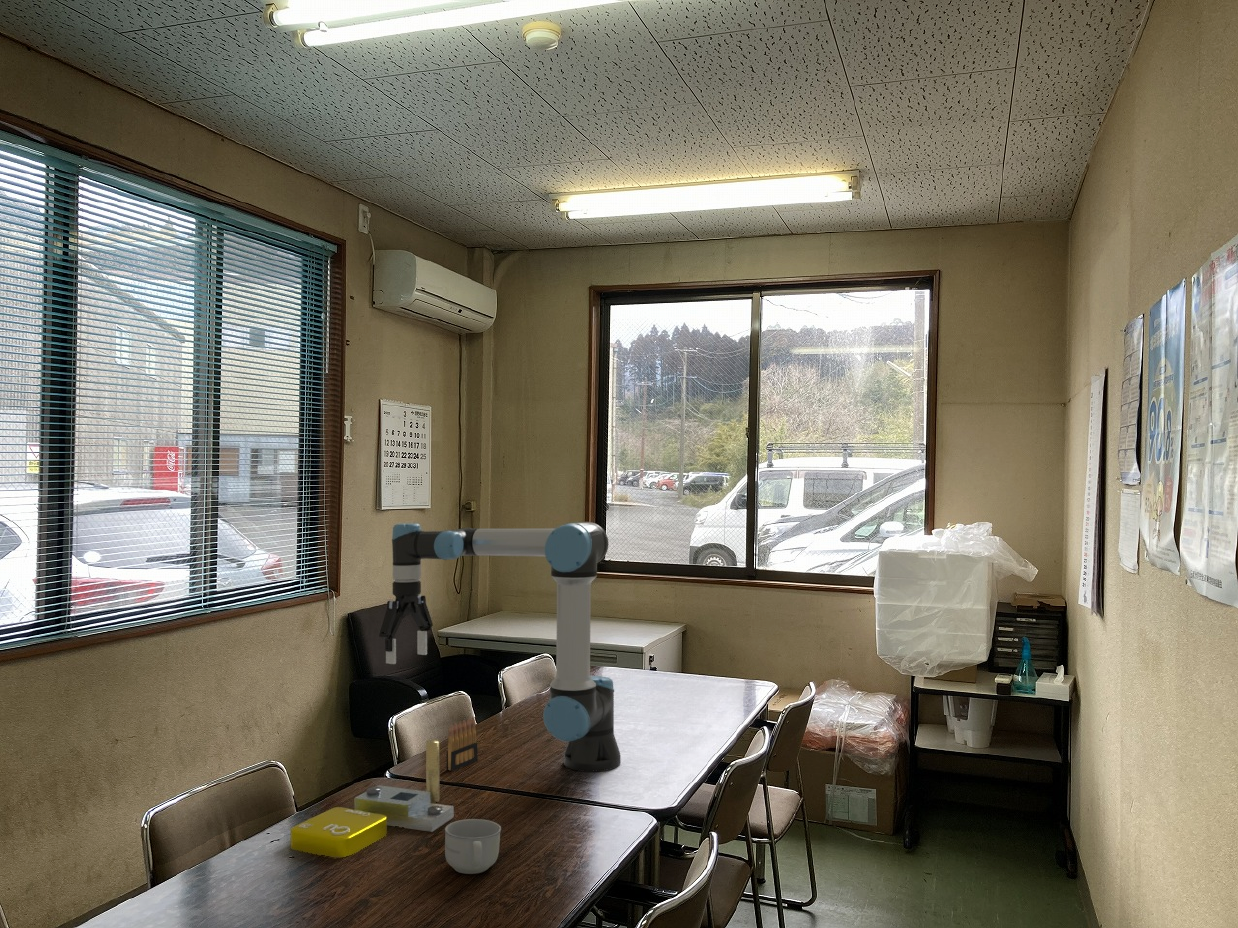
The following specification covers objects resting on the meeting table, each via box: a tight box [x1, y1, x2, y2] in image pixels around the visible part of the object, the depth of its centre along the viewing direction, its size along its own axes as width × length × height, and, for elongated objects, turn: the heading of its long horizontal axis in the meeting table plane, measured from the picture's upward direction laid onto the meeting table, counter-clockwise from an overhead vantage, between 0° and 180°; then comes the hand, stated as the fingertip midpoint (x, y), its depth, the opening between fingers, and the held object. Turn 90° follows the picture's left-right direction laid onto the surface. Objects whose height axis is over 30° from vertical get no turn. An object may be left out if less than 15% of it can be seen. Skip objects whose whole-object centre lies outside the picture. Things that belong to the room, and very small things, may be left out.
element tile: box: [290, 806, 388, 857], centre depth 192 cm, size 15×15×5 cm
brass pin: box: [425, 739, 440, 804], centre depth 216 cm, size 3×3×14 cm
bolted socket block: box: [353, 784, 455, 833], centre depth 204 cm, size 20×9×6 cm, turn 70°
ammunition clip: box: [445, 716, 479, 772], centre depth 243 cm, size 11×2×12 cm, turn 149°
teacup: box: [444, 818, 502, 875], centre depth 177 cm, size 14×11×8 cm
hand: (407, 658), depth 247 cm, fingers open, 13 cm apart
